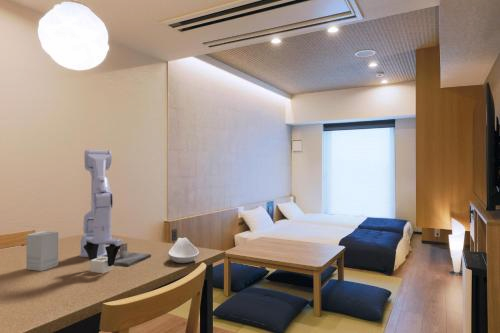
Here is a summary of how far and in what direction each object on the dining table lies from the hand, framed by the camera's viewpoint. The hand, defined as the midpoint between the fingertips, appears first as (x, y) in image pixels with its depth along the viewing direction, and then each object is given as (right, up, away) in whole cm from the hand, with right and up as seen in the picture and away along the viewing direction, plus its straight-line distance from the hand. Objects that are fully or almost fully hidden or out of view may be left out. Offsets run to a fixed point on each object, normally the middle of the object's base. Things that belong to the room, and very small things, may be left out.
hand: (102, 264), depth 118 cm
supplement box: (-23, -2, +3) cm, 23 cm away
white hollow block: (0, -2, 0) cm, 2 cm away
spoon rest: (+25, -3, +18) cm, 31 cm away
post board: (+2, -2, +14) cm, 14 cm away
